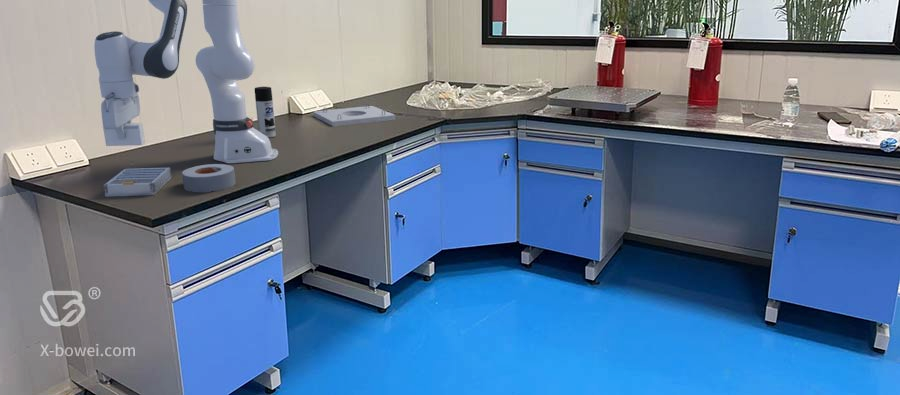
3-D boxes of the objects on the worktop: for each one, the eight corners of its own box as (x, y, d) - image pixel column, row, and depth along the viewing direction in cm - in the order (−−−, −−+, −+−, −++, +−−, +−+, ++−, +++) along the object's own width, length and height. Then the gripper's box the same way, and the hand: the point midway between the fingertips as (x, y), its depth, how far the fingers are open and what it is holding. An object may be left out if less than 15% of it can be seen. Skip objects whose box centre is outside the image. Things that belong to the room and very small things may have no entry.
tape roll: (175, 185, 208) (173, 169, 206) (221, 175, 218) (219, 160, 216) (197, 196, 198) (195, 180, 196) (244, 185, 208) (242, 170, 206)
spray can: (266, 139, 267) (262, 89, 260) (255, 137, 270) (250, 88, 264) (279, 136, 272) (275, 87, 266) (267, 134, 275) (263, 85, 269)
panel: (145, 142, 198) (142, 122, 196) (141, 145, 195) (138, 125, 193) (110, 143, 197) (106, 123, 195) (106, 146, 194) (102, 125, 192)
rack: (171, 177, 215) (170, 165, 214) (154, 195, 198) (152, 181, 197) (126, 179, 213) (124, 167, 212) (105, 196, 196) (103, 183, 195)
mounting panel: (312, 106, 310) (372, 100, 324) (313, 117, 312) (372, 111, 326) (332, 116, 288) (395, 109, 302) (333, 127, 290) (395, 120, 304)
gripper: (116, 96, 181) (123, 145, 186) (140, 84, 201) (147, 129, 205) (91, 96, 181) (100, 145, 185) (119, 85, 200) (125, 130, 204)
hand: (125, 137), depth 195 cm, fingers closed on panel, 3 cm apart
